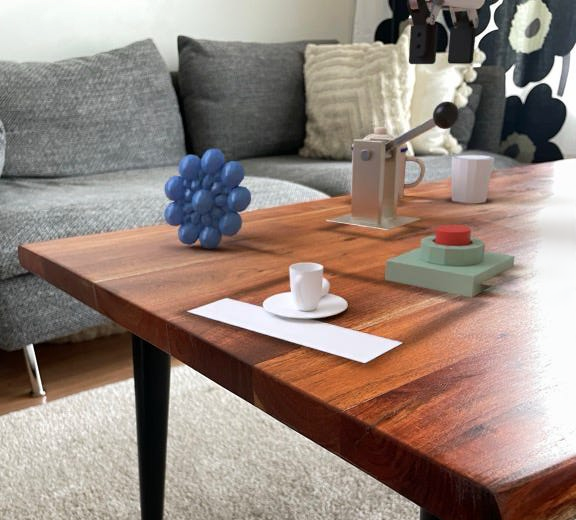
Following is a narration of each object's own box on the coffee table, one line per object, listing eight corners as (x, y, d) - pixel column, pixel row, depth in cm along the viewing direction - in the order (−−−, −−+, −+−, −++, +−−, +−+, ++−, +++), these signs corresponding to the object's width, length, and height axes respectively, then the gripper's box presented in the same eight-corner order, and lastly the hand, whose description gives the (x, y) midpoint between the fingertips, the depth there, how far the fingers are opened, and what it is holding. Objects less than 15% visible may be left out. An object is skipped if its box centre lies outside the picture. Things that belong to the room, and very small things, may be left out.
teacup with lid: (345, 205, 116) (347, 129, 111) (353, 196, 124) (356, 124, 119) (420, 208, 113) (426, 130, 108) (424, 198, 121) (430, 125, 116)
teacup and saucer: (303, 289, 73) (303, 250, 72) (368, 304, 69) (370, 263, 67) (245, 311, 67) (244, 268, 66) (312, 329, 63) (313, 284, 61)
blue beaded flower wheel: (264, 244, 92) (263, 146, 87) (244, 257, 86) (241, 152, 81) (182, 237, 95) (177, 142, 90) (157, 249, 89) (150, 148, 84)
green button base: (512, 275, 78) (517, 239, 76) (471, 297, 71) (476, 258, 69) (429, 261, 84) (432, 227, 82) (384, 280, 77) (386, 243, 75)
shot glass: (444, 196, 123) (448, 154, 120) (485, 196, 123) (489, 154, 120) (451, 204, 117) (455, 159, 114) (493, 204, 117) (499, 159, 114)
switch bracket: (420, 227, 101) (427, 138, 96) (387, 238, 94) (392, 144, 90) (361, 218, 107) (364, 134, 102) (325, 228, 100) (327, 139, 95)
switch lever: (467, 121, 89) (458, 96, 89) (455, 122, 87) (446, 97, 86) (379, 167, 99) (371, 145, 98) (366, 170, 96) (358, 147, 96)
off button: (475, 244, 76) (477, 227, 75) (460, 250, 74) (461, 233, 73) (444, 239, 78) (446, 223, 77) (428, 245, 76) (430, 228, 75)
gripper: (449, -126, 71) (435, 64, 78) (518, -99, 83) (500, 63, 90) (384, -115, 75) (376, 64, 82) (459, -91, 88) (446, 63, 95)
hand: (441, 63), depth 86 cm, fingers open, 9 cm apart
